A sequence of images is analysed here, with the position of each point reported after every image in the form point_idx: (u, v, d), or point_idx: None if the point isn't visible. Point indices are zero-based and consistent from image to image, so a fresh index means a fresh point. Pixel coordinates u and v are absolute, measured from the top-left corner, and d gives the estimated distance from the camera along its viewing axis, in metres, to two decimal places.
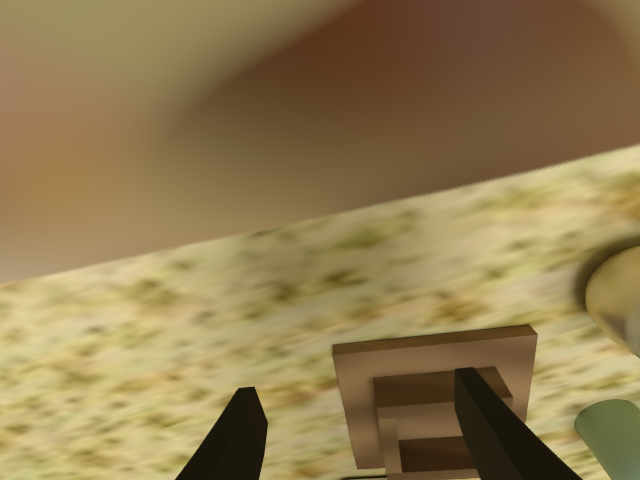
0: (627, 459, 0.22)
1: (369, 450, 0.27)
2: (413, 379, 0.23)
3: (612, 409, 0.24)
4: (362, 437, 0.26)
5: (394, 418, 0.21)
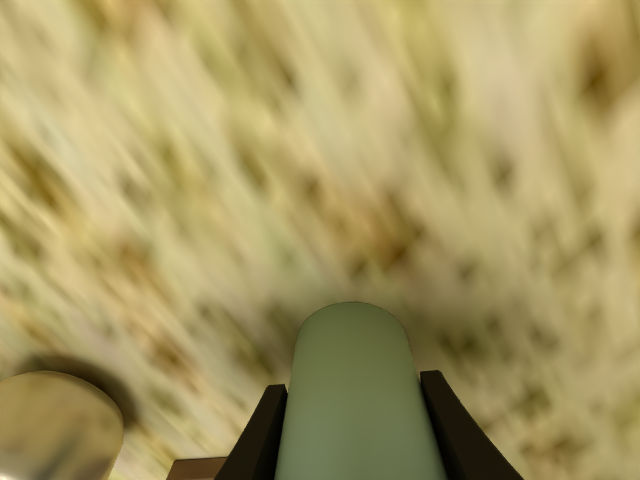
0: None
1: None
2: None
3: None
4: None
5: None
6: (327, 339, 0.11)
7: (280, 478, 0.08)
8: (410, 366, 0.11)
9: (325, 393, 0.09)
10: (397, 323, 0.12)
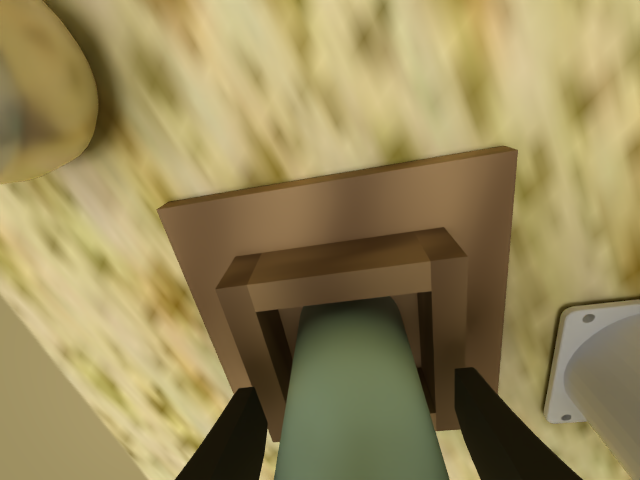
0: None
1: None
2: None
3: None
4: None
5: None
6: (328, 311, 0.12)
7: (289, 420, 0.09)
8: (402, 335, 0.12)
9: (327, 353, 0.10)
10: (391, 300, 0.14)
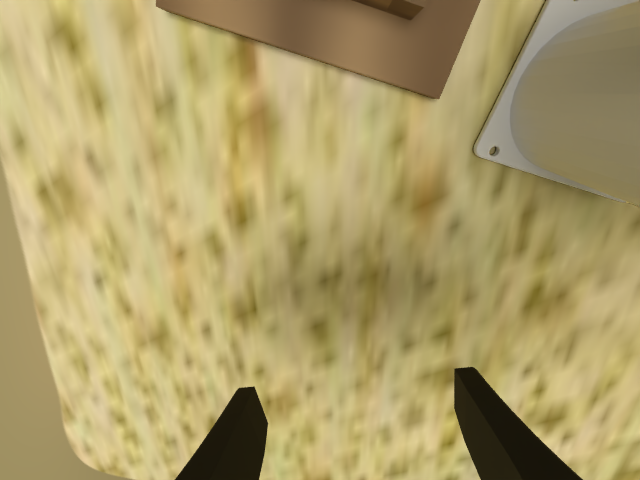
0: None
1: (399, 50, 0.15)
2: None
3: None
4: (359, 47, 0.15)
5: None
6: None
7: None
8: None
9: None
10: None
